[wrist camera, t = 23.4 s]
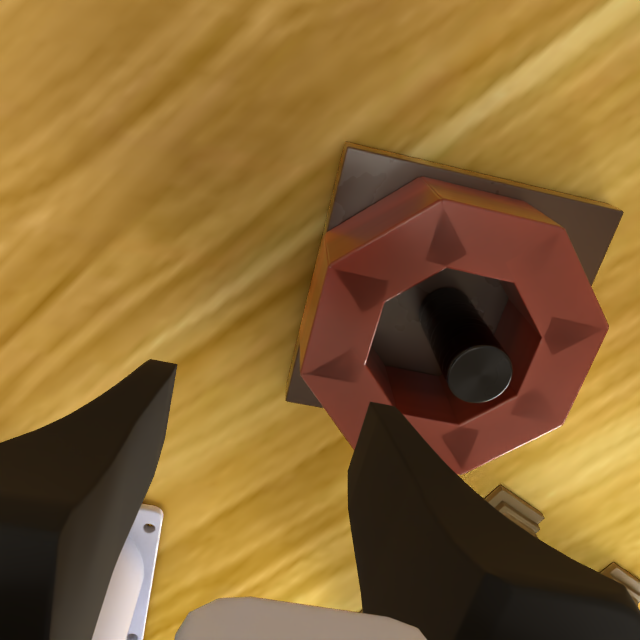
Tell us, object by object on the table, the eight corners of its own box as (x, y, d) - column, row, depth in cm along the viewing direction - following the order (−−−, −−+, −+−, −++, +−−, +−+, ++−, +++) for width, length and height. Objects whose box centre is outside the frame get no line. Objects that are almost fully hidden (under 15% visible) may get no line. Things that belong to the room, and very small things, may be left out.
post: (513, 428, 26) (570, 528, 21) (285, 386, 25) (282, 480, 20) (609, 203, 22) (710, 253, 17) (344, 141, 21) (361, 173, 16)
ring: (503, 433, 25) (533, 488, 22) (283, 391, 24) (281, 443, 21) (597, 218, 21) (648, 247, 18) (342, 156, 20) (351, 176, 17)
